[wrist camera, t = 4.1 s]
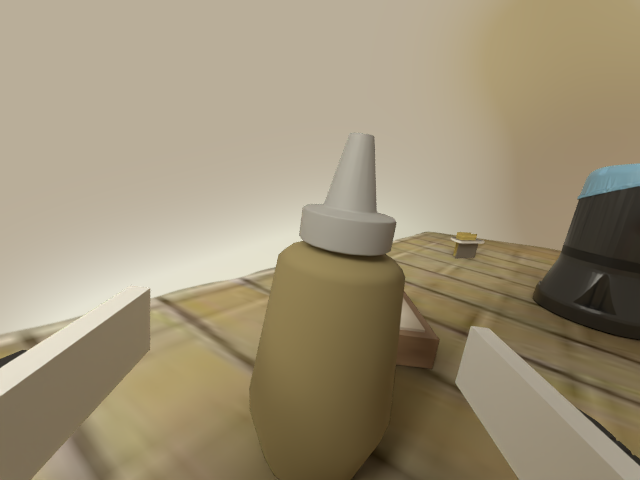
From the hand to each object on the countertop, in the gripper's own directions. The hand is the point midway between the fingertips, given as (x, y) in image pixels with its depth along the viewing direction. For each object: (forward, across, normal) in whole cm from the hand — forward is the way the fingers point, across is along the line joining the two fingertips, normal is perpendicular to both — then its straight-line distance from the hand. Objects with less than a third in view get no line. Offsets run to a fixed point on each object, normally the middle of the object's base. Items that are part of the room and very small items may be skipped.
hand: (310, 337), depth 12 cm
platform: (+61, +39, -10) cm, 73 cm away
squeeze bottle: (+4, +1, -10) cm, 10 cm away
